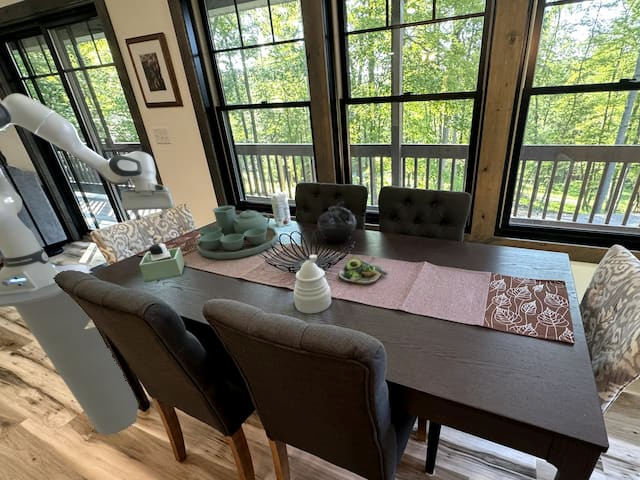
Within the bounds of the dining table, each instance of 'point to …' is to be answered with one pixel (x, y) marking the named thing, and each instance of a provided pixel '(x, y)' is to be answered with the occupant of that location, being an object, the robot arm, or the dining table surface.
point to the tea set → (236, 234)
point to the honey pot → (311, 288)
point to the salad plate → (361, 272)
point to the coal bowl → (337, 223)
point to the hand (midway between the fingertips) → (150, 219)
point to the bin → (162, 266)
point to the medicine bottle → (159, 252)
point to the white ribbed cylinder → (280, 209)
